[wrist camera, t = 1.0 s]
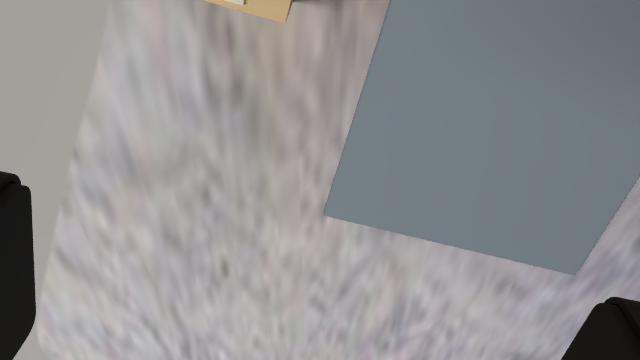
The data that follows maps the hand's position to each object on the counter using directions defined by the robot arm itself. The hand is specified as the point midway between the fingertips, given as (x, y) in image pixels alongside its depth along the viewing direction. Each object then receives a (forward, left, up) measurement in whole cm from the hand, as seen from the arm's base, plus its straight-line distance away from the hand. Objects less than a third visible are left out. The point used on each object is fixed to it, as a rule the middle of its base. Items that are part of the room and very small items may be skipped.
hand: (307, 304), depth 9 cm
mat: (+1, +11, -21) cm, 24 cm away
